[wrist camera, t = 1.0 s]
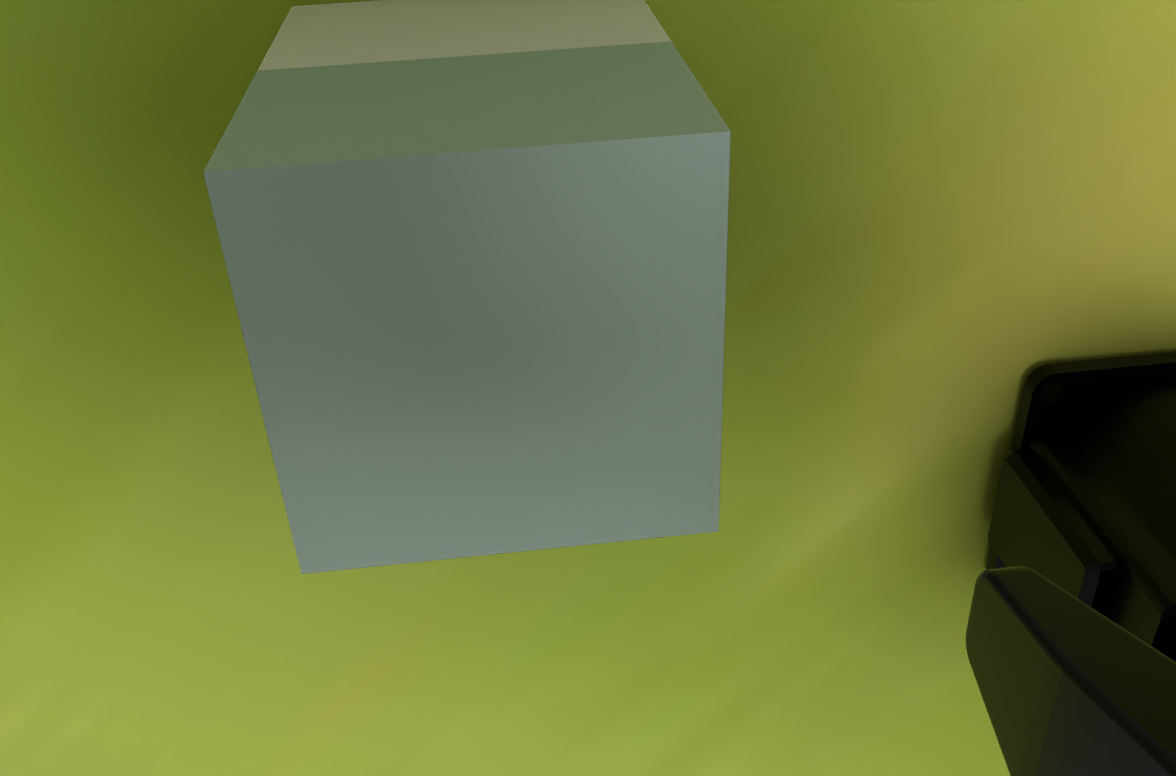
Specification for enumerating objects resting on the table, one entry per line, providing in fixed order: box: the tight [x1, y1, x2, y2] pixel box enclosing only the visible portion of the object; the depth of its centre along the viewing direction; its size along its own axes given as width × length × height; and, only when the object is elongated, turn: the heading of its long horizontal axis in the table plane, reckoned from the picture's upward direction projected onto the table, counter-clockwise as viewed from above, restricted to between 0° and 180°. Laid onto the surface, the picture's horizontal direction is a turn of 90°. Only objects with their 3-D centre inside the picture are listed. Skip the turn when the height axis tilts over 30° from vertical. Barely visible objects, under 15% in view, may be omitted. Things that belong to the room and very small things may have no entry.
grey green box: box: [203, 0, 731, 574], centre depth 17 cm, size 6×6×8 cm
